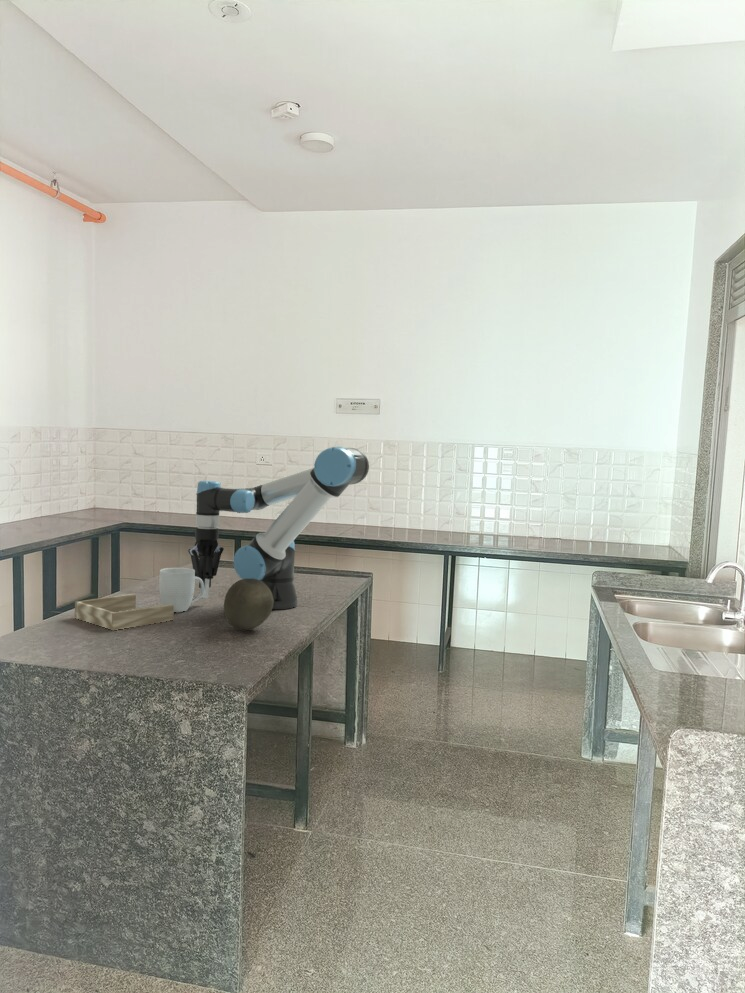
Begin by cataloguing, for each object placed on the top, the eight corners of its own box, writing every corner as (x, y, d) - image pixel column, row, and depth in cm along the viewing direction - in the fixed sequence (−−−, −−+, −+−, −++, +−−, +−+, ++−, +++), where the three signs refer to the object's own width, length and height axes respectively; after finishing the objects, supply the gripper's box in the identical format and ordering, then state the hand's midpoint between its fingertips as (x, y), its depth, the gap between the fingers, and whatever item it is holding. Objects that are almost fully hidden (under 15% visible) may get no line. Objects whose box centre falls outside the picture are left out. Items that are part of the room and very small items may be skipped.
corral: (173, 620, 222) (173, 604, 221) (113, 631, 206) (113, 613, 206) (133, 608, 235) (134, 593, 235) (74, 618, 219) (75, 601, 219)
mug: (195, 604, 246) (196, 565, 245) (210, 610, 237) (212, 570, 236) (152, 609, 236) (153, 568, 235) (167, 615, 228) (168, 574, 227)
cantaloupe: (225, 636, 205) (226, 583, 204) (221, 624, 219) (223, 575, 218) (275, 635, 209) (277, 583, 208) (268, 623, 223) (270, 574, 222)
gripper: (215, 525, 250) (213, 593, 251) (183, 527, 240) (181, 598, 242) (229, 527, 245) (227, 597, 247) (197, 529, 235) (195, 602, 237)
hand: (204, 597), depth 244 cm, fingers closed
